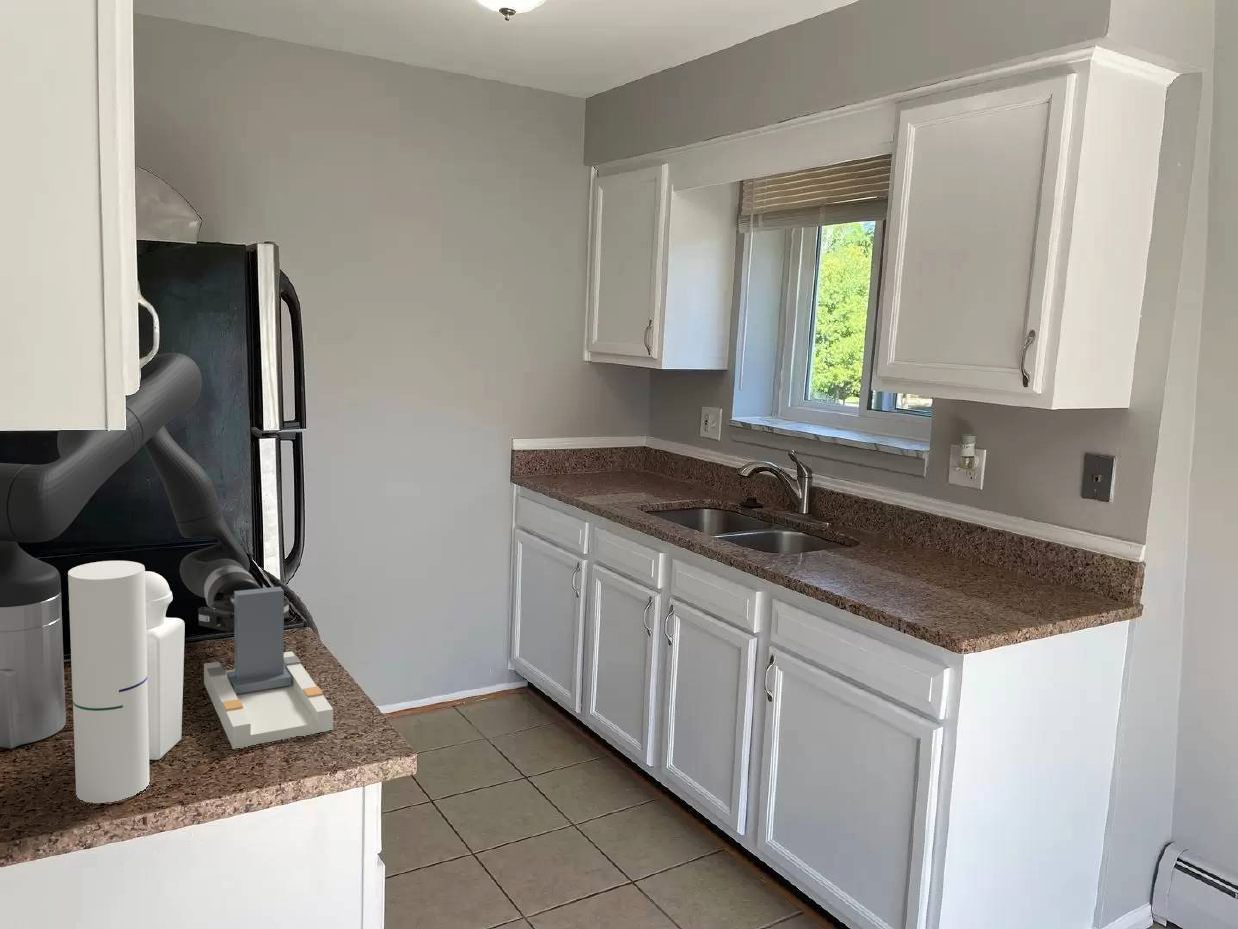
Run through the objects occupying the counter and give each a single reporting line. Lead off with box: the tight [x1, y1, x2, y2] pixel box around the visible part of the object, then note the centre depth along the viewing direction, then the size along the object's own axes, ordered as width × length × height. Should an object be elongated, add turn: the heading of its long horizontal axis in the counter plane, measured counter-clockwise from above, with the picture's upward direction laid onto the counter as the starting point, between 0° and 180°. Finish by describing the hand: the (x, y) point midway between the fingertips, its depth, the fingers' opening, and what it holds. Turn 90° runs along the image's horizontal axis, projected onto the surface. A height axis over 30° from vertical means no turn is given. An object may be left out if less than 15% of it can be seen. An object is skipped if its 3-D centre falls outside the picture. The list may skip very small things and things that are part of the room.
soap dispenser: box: [145, 570, 186, 761], centre depth 110 cm, size 6×6×22 cm
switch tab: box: [227, 586, 291, 694], centre depth 127 cm, size 5×7×13 cm
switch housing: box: [203, 651, 334, 750], centre depth 125 cm, size 22×12×3 cm, turn 32°
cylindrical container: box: [67, 560, 150, 803], centre depth 101 cm, size 7×7×25 cm
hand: (257, 630), depth 128 cm, fingers closed
